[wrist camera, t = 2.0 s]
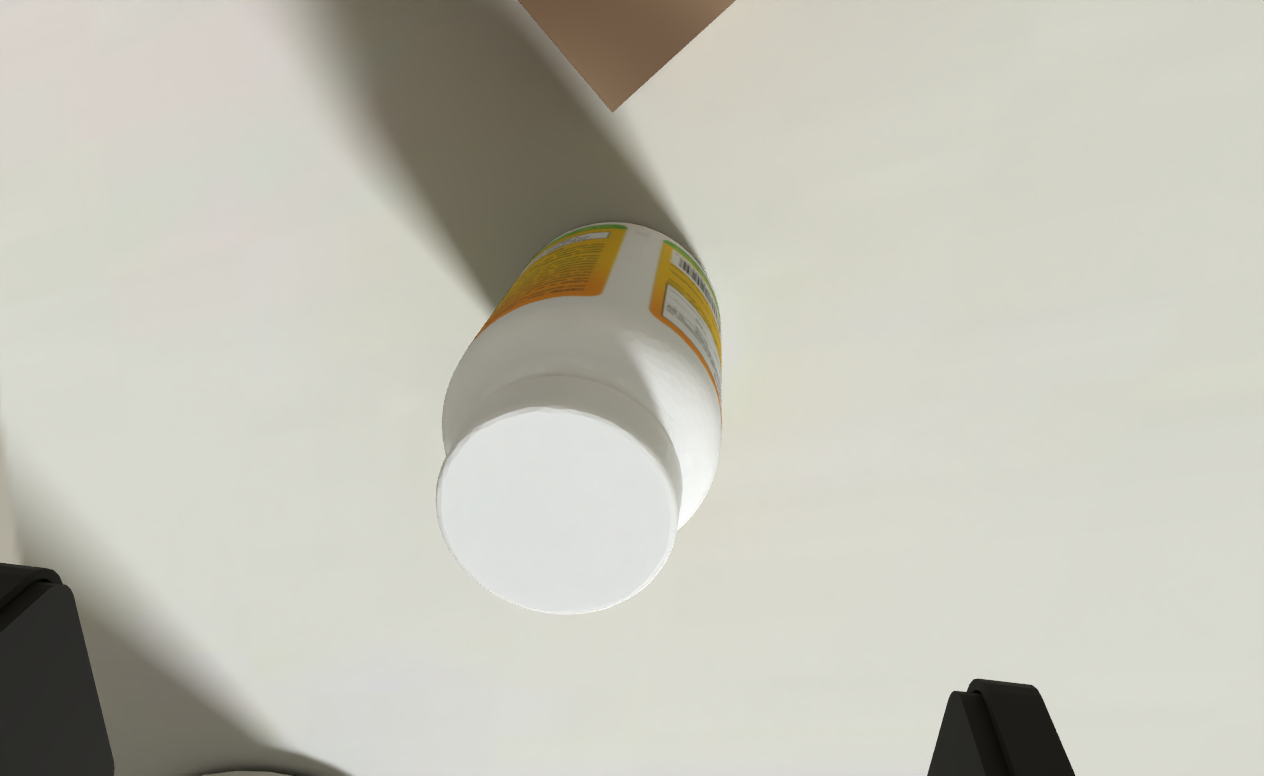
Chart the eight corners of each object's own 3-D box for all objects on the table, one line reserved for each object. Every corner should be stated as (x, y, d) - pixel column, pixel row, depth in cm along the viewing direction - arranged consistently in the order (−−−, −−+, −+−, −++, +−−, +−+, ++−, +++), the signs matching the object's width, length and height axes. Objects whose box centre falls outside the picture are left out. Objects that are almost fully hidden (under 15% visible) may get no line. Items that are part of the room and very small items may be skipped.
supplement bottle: (491, 376, 24) (359, 594, 16) (546, 187, 22) (431, 313, 13) (679, 441, 25) (657, 691, 16) (753, 260, 22) (774, 431, 14)
